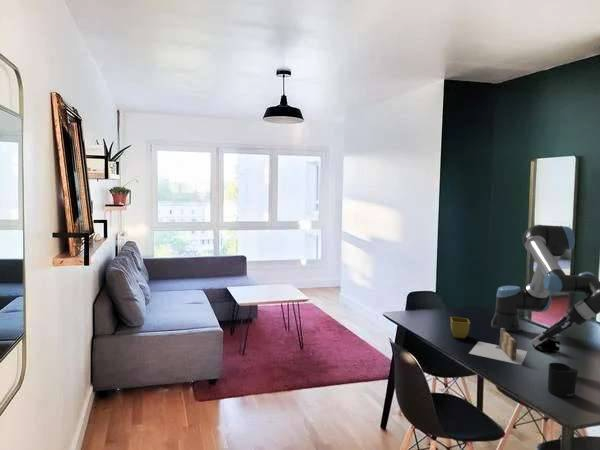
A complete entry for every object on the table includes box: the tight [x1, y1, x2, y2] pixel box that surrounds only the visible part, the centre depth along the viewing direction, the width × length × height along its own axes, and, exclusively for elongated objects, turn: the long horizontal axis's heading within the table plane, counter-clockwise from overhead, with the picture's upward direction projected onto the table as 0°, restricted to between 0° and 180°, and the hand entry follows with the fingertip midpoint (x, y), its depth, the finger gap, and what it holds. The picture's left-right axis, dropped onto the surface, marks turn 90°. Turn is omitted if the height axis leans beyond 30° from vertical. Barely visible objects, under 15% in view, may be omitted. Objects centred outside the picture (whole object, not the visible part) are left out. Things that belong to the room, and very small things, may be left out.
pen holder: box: [547, 362, 579, 399], centre depth 175 cm, size 9×9×10 cm
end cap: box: [531, 336, 561, 355], centre depth 224 cm, size 10×7×7 cm
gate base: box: [468, 341, 528, 365], centre depth 217 cm, size 22×22×1 cm
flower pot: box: [449, 316, 471, 339], centre depth 239 cm, size 9×9×9 cm
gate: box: [499, 328, 518, 360], centre depth 215 cm, size 19×2×9 cm, turn 173°
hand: (533, 343), depth 206 cm, fingers closed
